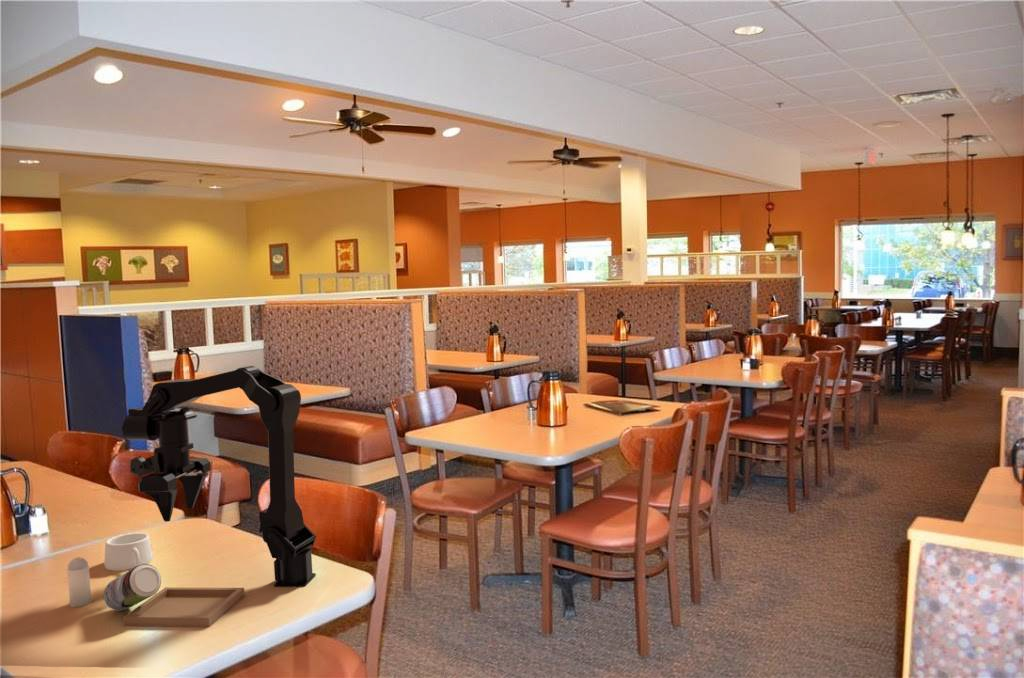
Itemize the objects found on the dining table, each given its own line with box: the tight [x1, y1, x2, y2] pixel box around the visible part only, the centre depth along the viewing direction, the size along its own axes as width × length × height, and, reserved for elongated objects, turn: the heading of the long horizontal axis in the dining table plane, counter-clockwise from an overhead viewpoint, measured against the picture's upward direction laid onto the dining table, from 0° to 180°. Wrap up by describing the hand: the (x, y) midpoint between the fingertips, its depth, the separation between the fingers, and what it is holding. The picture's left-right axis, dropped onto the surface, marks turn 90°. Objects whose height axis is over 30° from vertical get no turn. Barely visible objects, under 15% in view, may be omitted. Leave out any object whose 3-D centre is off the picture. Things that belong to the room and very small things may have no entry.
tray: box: [122, 586, 246, 628], centre depth 149 cm, size 16×14×2 cm
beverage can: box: [103, 563, 162, 612], centre depth 148 cm, size 6×7×12 cm
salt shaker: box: [67, 556, 92, 608], centre depth 154 cm, size 4×4×9 cm
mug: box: [103, 532, 154, 572], centre depth 175 cm, size 12×10×6 cm
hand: (178, 514), depth 168 cm, fingers open, 9 cm apart
